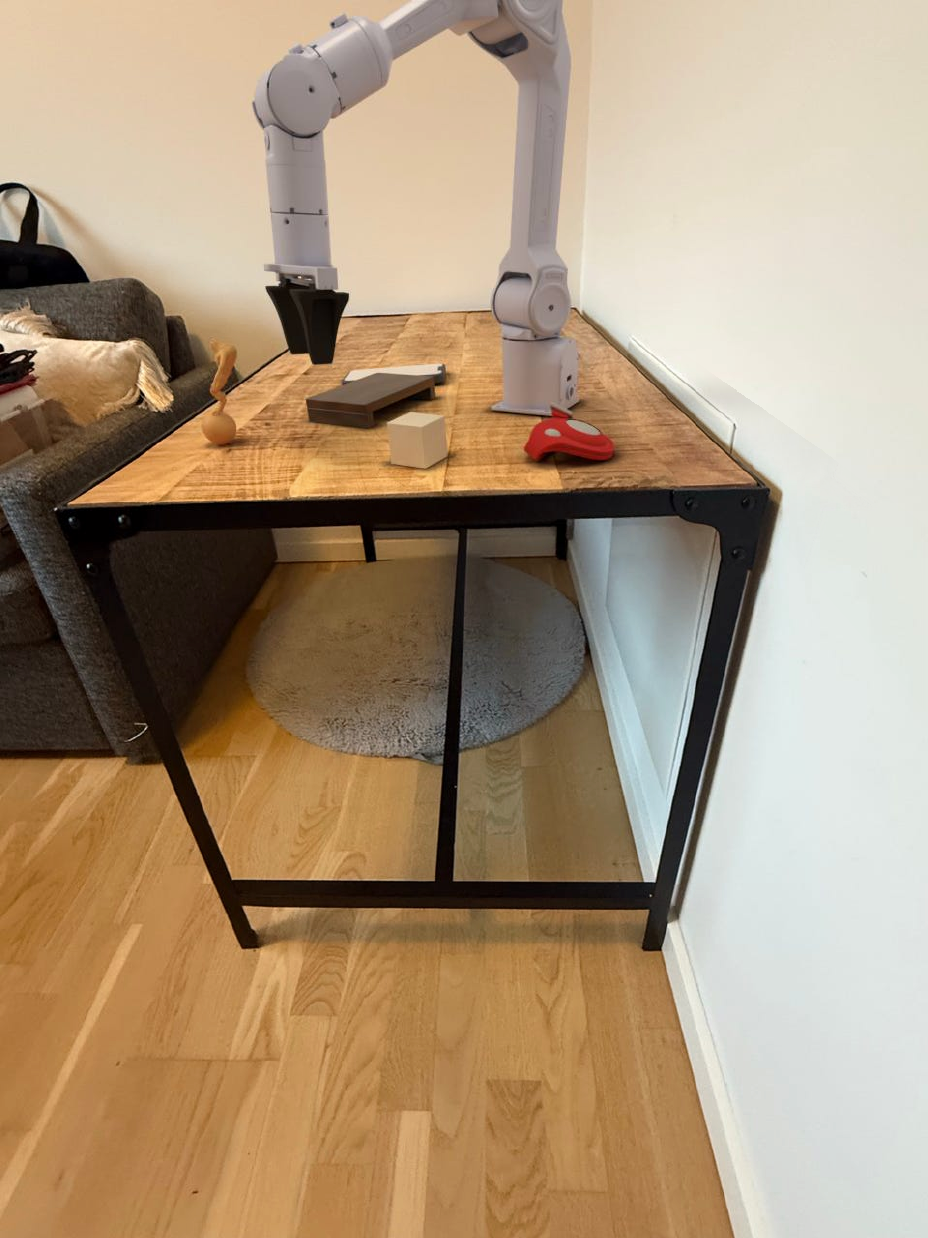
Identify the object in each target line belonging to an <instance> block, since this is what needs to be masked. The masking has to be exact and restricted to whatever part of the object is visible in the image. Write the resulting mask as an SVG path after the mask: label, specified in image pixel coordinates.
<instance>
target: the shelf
mask: <svg viewBox="0 0 928 1238" xmlns="http://www.w3.org/2000/svg"><path fill="white" fill-rule="evenodd" d="M403 399H416V400H427V401H432V400H435V399H436V385H435V384H434V377H432V376H418V375H404V374H390V373H375V374H372V375H370V376H367V377H364V378H361V379H358V380H356V381H353V382H350V383H347V384H345V385H342V384H341V385H340V386H339V385H338V386H337V387H333V388H331V389H328V390H325V391H323V392H320V393H316V394H314V395H312V396H309V397H306V398H305V404H306V410H307V417H308V421H309V422H311V423H320V424H329V425H336V426H345V427H354V428H360V429H361V428H363V429H371V428H374V427H375V420H374V419H375V418H374V413H373V412H376V411H377V410H380V409H382V408H385V407H387V406H389V405H391V404H394V403H396V402H399V401H401V400H403Z"/></svg>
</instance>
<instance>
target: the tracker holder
mask: <svg viewBox="0 0 928 1238" xmlns="http://www.w3.org/2000/svg"><path fill="white" fill-rule="evenodd" d="M550 409H551V414H552V416H550V418H547V419H544V420H542V421H540V422H538V423H536V424H535V425H534V426H533V427H532V429H531V432H530V435H529V437H528V440H527V442H526V443H525V445H524V447H523V451H524V452H525V453H526V454H528V456H530V457H531V458H532V459H533V460H535V462H536V461H537V462H538V461H540V460H542V459H543V458H544V457H545V456H546V455H547V454H548V453H549V452H550V453H551V452H562V453H566V454H570V455H572V456H577V457H579V458H585V459H589V460H593V461H595V460H596V461H607V460H609V459H611V458H612V457H613V454H614V452H615V449H616V446H615V443H614V442H613V441H612V439H611V438H609V437H608V436H607V435H605V433H603V432H602V431H601V430H600V429H599V428H598V427H597V426H594V425H593V424H591V423H589V422H586V421H584V420H581V419H577V418H576V419H575V418H574V412H572V411H573V410H570V409H565V408H563V407H561V406H559V405H556V404H554V403H552V402H551V403H550Z"/></svg>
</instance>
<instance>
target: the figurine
mask: <svg viewBox="0 0 928 1238" xmlns="http://www.w3.org/2000/svg"><path fill="white" fill-rule="evenodd" d="M209 343H210V344H211V345H210V346H209V347H210V349H211V350H212V351H214V361H215V364H216V366H217V371H216V373H215V375H214V379H213V382H212V383H211V384H210V388H209V393H210V394H211V396H212V397H214V398H215V399H216V400H217V401H218V402H220V404H219V406H218V407H216V408H214V410H213V411H210V412H208V413H207V414H205V416H204V417H203V418H202V422H201V430H202V433H203V435H204V437H205V438H206V439H207V440H208V441H209V442H211V443H213V444H215V445H227V444H229V443H230V442H232V441H233V440H234V439H235V437H236V434H237V424H236V421H235V420H234V418H233V417H232V416H231V415H230V414H229V413H227V412H225V411H224V409H225V406H226V404H227V401H228V400H227V394H226V392H225V391H222V390H221V389H222V388H223V387H225V385H226V384H227V383H228V379H229V378H230V376H231V375H232V369H233V367H234V366H235V363H236V360H237V356H238V350H237V348H236V346H235V345H234V344H231V343H225V342H221V341H219V340H218V339H215V338H213V339H211V340H210V342H209Z"/></svg>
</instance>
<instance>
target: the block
mask: <svg viewBox="0 0 928 1238" xmlns="http://www.w3.org/2000/svg"><path fill="white" fill-rule="evenodd" d="M386 429H387V430H386V431H387V437H388V447H389V455H390V463H391V465H397V466H403V467H411V468H417V469H423V470H426V469H428V468H430V467H432V466H433V465H435V464H437V463H438V462H441V461H442V460H444V459H445V458H447V457H448V443H447V442H448V441H447V429H446V416H445V415H444V414H435V413H424V412H415V411H414V412H413V411H409V412H407V413H405V414H402V415H401V416H398V417H397V418H394V419H392V420H390V421H387V422H386Z"/></svg>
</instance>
